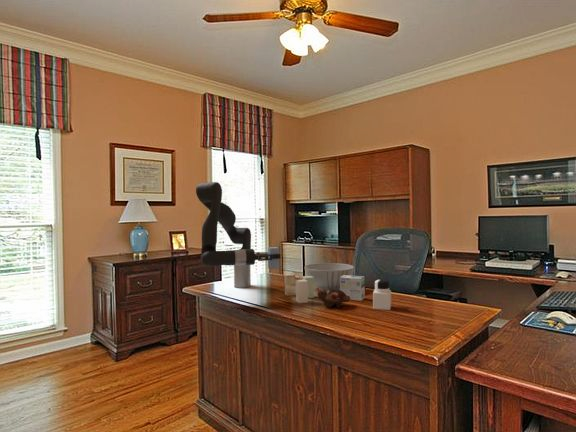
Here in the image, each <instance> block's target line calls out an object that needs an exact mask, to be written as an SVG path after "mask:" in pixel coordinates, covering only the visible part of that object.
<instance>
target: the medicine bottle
mask: <svg viewBox="0 0 576 432" xmlns="http://www.w3.org/2000/svg"><path fill="white" fill-rule="evenodd" d="M372 308H373V309H374V310H380V311H381V310H382V311H383V310H384V311H390V310H391V308H392V290H391V289H390V281H389V280H386V279H377V280H375V281H374V290H373V292H372Z"/></svg>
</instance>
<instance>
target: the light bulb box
mask: <svg viewBox="0 0 576 432" xmlns="http://www.w3.org/2000/svg"><path fill="white" fill-rule="evenodd" d="M365 289H366V287H365V276H362V275H352V276H349V275H343V276H341V277H340V290H341V291H343V292H344V293H345V294H346V295H347V296H350V301H357V302H358V301H359V302H361V301H363V300H364V299H365V298H366V292H365Z"/></svg>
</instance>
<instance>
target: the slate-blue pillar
mask: <svg viewBox="0 0 576 432" xmlns="http://www.w3.org/2000/svg"><path fill="white" fill-rule="evenodd" d="M267 252H268V254H280V248H279V247H276V246H275V247H267ZM268 258H270V256H268ZM267 268H268V269H269V270H279V269H280V259H272V260H267Z"/></svg>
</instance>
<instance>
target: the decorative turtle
mask: <svg viewBox="0 0 576 432" xmlns="http://www.w3.org/2000/svg"><path fill="white" fill-rule="evenodd" d="M316 295H317V297H318V298H319V300H320V301H322V303H323V305H325V306H326V307H327V308H328V309H331V308H332V307H333V306H336V307H337V308H340V307H341V306H342V305H343V303H349V302H350V301H351V300H350V296H347V295H346V294H345V293H344V292H343V291H341V290H338V289H329V290H327V291H325V290H319V289H318V291H317V294H316Z"/></svg>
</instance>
